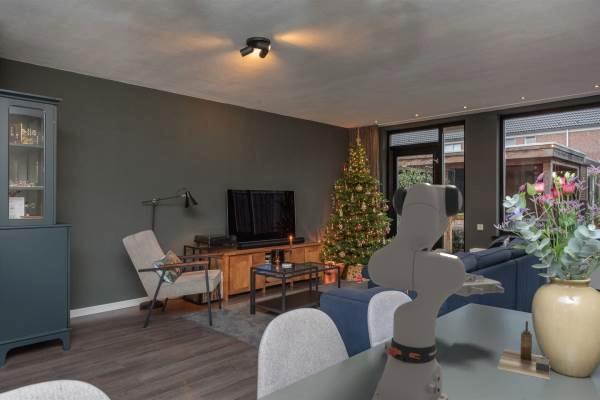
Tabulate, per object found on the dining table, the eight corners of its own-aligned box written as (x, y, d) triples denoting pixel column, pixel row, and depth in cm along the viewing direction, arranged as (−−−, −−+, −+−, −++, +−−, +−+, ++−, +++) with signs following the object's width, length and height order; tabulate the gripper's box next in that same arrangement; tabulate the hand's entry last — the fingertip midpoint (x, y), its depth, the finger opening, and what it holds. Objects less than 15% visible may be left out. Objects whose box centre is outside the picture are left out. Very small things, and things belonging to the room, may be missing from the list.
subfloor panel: (549, 383, 123) (549, 379, 123) (496, 371, 131) (497, 368, 131) (550, 360, 140) (550, 357, 140) (504, 351, 148) (504, 348, 148)
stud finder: (549, 372, 129) (549, 364, 128) (535, 369, 130) (536, 361, 130) (549, 365, 134) (549, 357, 134) (536, 363, 135) (536, 355, 135)
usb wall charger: (384, 352, 145) (385, 341, 145) (404, 353, 145) (405, 341, 145) (387, 357, 141) (387, 345, 141) (408, 357, 141) (408, 345, 141)
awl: (531, 360, 138) (532, 323, 137) (520, 358, 139) (521, 321, 139) (531, 357, 140) (532, 321, 140) (520, 354, 142) (521, 319, 142)
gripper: (442, 276, 158) (471, 283, 145) (483, 275, 166) (513, 281, 154) (442, 293, 158) (470, 302, 145) (483, 291, 166) (513, 298, 153)
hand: (493, 291), depth 149 cm, fingers open, 8 cm apart
